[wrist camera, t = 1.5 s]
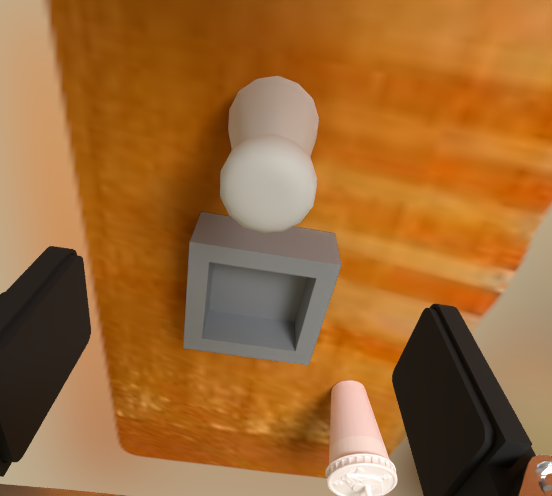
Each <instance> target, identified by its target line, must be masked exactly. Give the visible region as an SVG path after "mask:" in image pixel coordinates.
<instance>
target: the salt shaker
mask: <svg viewBox="0 0 552 496" xmlns="http://www.w3.org/2000/svg"><path fill="white" fill-rule="evenodd" d="M318 124H319V117H318V114H317V110H316V107H315V104H314V100H313V98H312V97H311V96H310V95H309V94H308V93H307V92H306V91H305V90H304V89H303V88H302V87H301V86H300V85H299V84H298V83H296V82H293V81H291V80H288V79H286V78H283V77H280V76H272V77H266V78H259V79H256V80H254V81H253V82H251V83H250V84H248V85H247V86H245V87H244V88H242V89H241V90H239V91H238V93H237V95H236V97H235V99H234V101H233V103H232V105H231V107H230V109H229V123H228V133H229V138H230V143H231V148H232V151H231V153H230V155H229V156H228V158H227V160H226V162H225V164H224V166H223V167H222V169H221V174H220V198H221V200H222V202H223V204H224V206H225V208H226V210H227V212H228V214H229V215H230V216H231V217H232V218H233V219H234V220H236V221H237V222H238V223H239V224H240V225H242V226H243V227H244V228H247V229H250V230H254V231H257V232H261V233H273V232H284V231H286V230H288V229H289V228H291V227H293V226H295V225H297V224H298V223H300V222H301V221H302V220H303V219H304V218H305V216H306V215H307V214H308V212H309V211H310V210H311V208H312V207H313V204H314V200H315V194H316V187H317V177H316V174H315V171H314V167H313V164H312V161H311V158H310V156H311V153H312V150H313V147H314V144H315V141H316V137H317V130H318Z"/></svg>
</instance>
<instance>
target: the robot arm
mask: <svg viewBox="0 0 552 496" xmlns="http://www.w3.org/2000/svg"><path fill="white" fill-rule="evenodd" d="M90 334H91V326H90V317H89V308H88V299H87V291H86V281H85V272H84V263H83V258H82V257H81V256H77V253H76V251H75V250H73V249H68V248H61V247H54V246H50V247H48V248H47V249H46V250H45V251H44V252H43V253H42V254H41V255H40V256H39V257H38V258H37V259H36V260H35V261H34V262H33V264H32V265H31V266H30V267H29V268H28V269H27V270H26V271H25V272H24V273H23V274H22V275H21V276H20V277H19V278H18V279H17V280H16V281H15V282H14V284H13V285H12V286H11V287H10V288H9V289H8V290H7V291H6V292H4V293H2V294H0V476H4V475H5V473H6V472H7V470H8V468H9V466H10V465H11V463H12V462H18V461H19V460H20V459H21V458H22V457H23V455H24V453H25V452H26V450H27V448H28V447H29V445H30V443H31V441H32V439H33V438H34V436H35V434H36V433H37V431H38V429H39V427H40V426H41V424H42V422H43V420H44V419H45V417H46V415H47V413H48V412H49V410H50V408H51V406H52V405H53V403H54V401H55V399H56V398H57V396H58V394H59V392H60V391H61V389H62V387H63V385H64V383H65V382H66V380H67V378H68V377H69V375H70V373H71V371H72V370H73V368H74V366H75V364H76V363H77V361H78V359H79V357H80V356H81V354H82V352H83V350H84V349H85V347H86V345H87V343H88V341H89V339H90ZM392 382H393V387H394V390H395V394H396V397H397V401H398V405H399V408H400V412H401V415H402V419H403V423H404V426H405V430H406V433H407V437H408V440H409V444H410V448H411V451H412V455H413V458H414V462H415V465H416V469H417V473H418V476H419V480H420V484H421V487H422V491H423V494H424V496H552V456H550V455H537V456H536V455H535V453H534V451H533V449H532V447H531V445H532V443H531V441H530V440H529V437H528V436H527V434H526V432H525V430H524V429H523V427H522V425H521V423H520V421H519V419H518V418H517V416H516V414H515V412H514V410H513V408H512V407H511V405H510V403H509V401H508V399H507V398H506V396H505V394H504V392H503V390H502V389H501V387H500V385H499V383H498V382H497V380H496V378H495V376H494V374H493V372H492V371H491V369H490V367H489V365H488V363H487V362H486V360H485V358H484V356H483V354H482V353H481V351H480V349H479V348H478V346H477V344H476V342H475V340H474V338H473V336H472V334H471V333H470V331H469V329H468V327H467V325H466V324H465V322H464V320H463V318H462V316H461V314H460V313H459V311H458V309H457V308H456V307H453V306H447V305H440V304H433V305H431V307H430V308H425V309H424V311H423V312H422V314H421V316H420V318H419V320H418V323H417V325H416V327H415V329H414V331H413V333H412V335H411V337H410V339H409V341H408V343H407V345H406V347H405V349H404V351H403V353H402V355H401V357H400V359H399V361H398V363H397V365H396V367H395V369H394V371H393V375H392ZM0 496H124V495H114V494H105V493H104V494H103V493H95V492H85V491H74V490H64V489H52V488H41V487H29V486H16V485H5V484H0Z"/></svg>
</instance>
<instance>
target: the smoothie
mask: <svg viewBox="0 0 552 496" xmlns="http://www.w3.org/2000/svg"><path fill="white" fill-rule="evenodd" d="M326 477H327V485H328V488H329V489H330V490H331V491H332V492H333V493H335V494H336V495H339V496H382V495H385V494H387V493H388V492H390V491H391V490H392V489H393V488H394V487H395V486H396V484H397V475H396V468H395V466H394V464H393V463H392V462H391V461H390V460H389V457H388V454H387V451H386V448H385V446H384V443H383V440H382V437H381V434H380V431H379V428H378V425H377V423H376V420H375V417H374V414H373V411H372V408H371V405H370V402H369V399H368V396H367V393H366V391H365V388H364V386H363V385H362V384H361V383H359V382H356V381H351V380H348V381H342V382H339V383H337V384H336V385H335V386H334V387H333V388H332V390H331V420H330V451H329V466H328V467H327V469H326Z"/></svg>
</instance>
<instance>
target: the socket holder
mask: <svg viewBox="0 0 552 496" xmlns="http://www.w3.org/2000/svg"><path fill="white" fill-rule="evenodd" d="M340 268H341V261H340V255H339V250H338V245H337V240H336V235H335V233H330V232H324V231H318V230H312V229H306V228H299V227H291V228H289V229H288V230H286V231H284V232H273V233H261V232H257V231H254V230H250V229H247V228H244V227H243V226H242V225H240V224H239V223H238V222H237V221H236V220H234V219H233V218H232V217H231V216H225V215H219V214H213V213H207V212H201V214H200V216H199V219H198V221H197V224H196V227H195V229H194V232H193V234H192V237H191V239H190V244H189V260H188V277H187V293H186V310H185V326H184V343H183V348H185V349H192V350H199V351H207V352H214V353H221V354H229V355H236V356H244V357H251V358H258V359H266V360H273V361H281V362H288V363H295V364H303V365H309V363H310V360H311V357H312V354H313V351H314V348H315V345H316V342H317V339H318V336H319V333H320V330H321V327H322V323H323V320H324V317H325V314H326V311H327V308H328V305H329V302H330V299H331V296H332V293H333V290H334V287H335V284H336V281H337V277H338V274H339V271H340Z"/></svg>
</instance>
